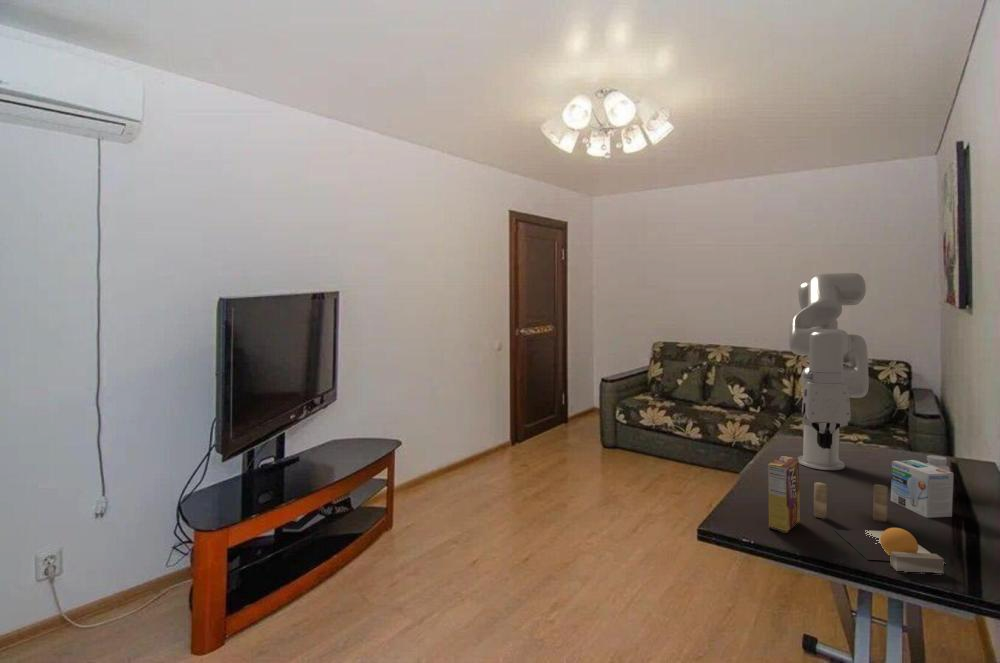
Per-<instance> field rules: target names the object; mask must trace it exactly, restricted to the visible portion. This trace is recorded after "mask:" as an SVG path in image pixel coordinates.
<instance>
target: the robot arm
mask: <svg viewBox="0 0 1000 663" xmlns="http://www.w3.org/2000/svg"><path fill="white" fill-rule="evenodd" d="M866 290H867V285H866V281H865V279H864V277H863V276H862V275H861V274H859V273H855V272H847V273H846V272H843V273H841V272H840V273H821V274H818V275H817V274H816V275H815V276H813V277H812V278H811V279H810V280H807V281H805V282H803V283H801V284H800V285H799V286H798V290H797V293H798V303H799V306H800V311H799V312H797V313H796V314H795V316H794V317H792V320H791V322H790V325H789V336H788V345H789V349H790V351H791V352H792V353H793V354H795V355H796V356H797V355H798V356H805V357H806V356H807V358H808V359H809V360H808V366H806V367H805V368H803V370H802V372H801V373H800V375H801V376H800V381H801V382H800V383H801V386H802V388H801V389H802V394H803V396H802V405H801V406H802V407H801V415H802V416H801V417H802V419H801V420H802V421H801V423H802V424H803V437H802V438H803V440H802V441H803V444H802V446H803V447H802V453H803V454H802V455H799V456H798V457H797V459H799V465H802V466H804V467H807V468H810V469H811V468H812V469H815V470H816V469H817V470H822V471H841V470H843V469H845V463H844V461H841V460H840V458H839V456H840V455H839V454H840V453H839V451H840V428H842V427H846V426H848V425H849V422H850V421H851V414H852V413H851V400H850V398H853V399H859V398H864V397H865V396H866V395H867V394H868V392H869V383H870V382H869V363H868V361H869V359H868V355H869V354H868V346H867V342H866V340H865V339H864V337H862V336H861V335H859V334H849V333H848V332H847V331H845V330H843V329H838V328H839V324H838V320H837V319H839V317H840V316H841V315H842V312H843V306H857V305H859V304H860V303H861V302H862V301H863V300H864V298H865V296H866V292H867V291H866ZM844 365H846V366H844Z"/></svg>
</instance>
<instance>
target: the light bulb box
mask: <svg viewBox="0 0 1000 663" xmlns="http://www.w3.org/2000/svg"><path fill="white" fill-rule="evenodd" d="M890 482H891V483H890V484H891V485H890V487H891V488H890V501H891V502H892V503H894V504H897V505H898V506H901V507H903V508H905V509H907V510H909V511H912V512H914V513H916V514H918V515H919V516H922V517H925V518H927V519H928V518H929V519H930V518H946V517H947V518H949V517H951V518H952V517H953V497H954V496H953V495H954V494H953V493H954V472H951V471H950V472H949V471H946V470H943V469H940V468H937V467H934V466H931V465H928V464H925V462H921V461H919V460H916V459H908V460H905V459H904V460H892V461H891V481H890Z"/></svg>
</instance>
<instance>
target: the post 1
mask: <svg viewBox="0 0 1000 663" xmlns="http://www.w3.org/2000/svg"><path fill="white" fill-rule="evenodd" d="M813 486H814V487H813V489H814V490H813V517H814V516H815V517H814V518H816V517H818V518H826V517H827V516H828V515H827V512H828V508H827V506H828V485H827V483H823V482H814V485H813ZM818 518H817V519H818ZM826 519H827V518H826Z"/></svg>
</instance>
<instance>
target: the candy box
mask: <svg viewBox="0 0 1000 663" xmlns="http://www.w3.org/2000/svg"><path fill="white" fill-rule="evenodd" d="M767 474H768V476H767V478H768V482H767V484H768V485H767V486H768V487H767V488H768V491H767V492H768V497H767V498H768V499H767V500H768V527H769V526H771V527H775V528H778V529H781V530H785V531H788V530H790V529H791V528H792V527H793V526H794V525H795V524H796V523H798V522H799V521H801V519H800V514H801V513H800V512H801V510H800V507H801V506H800V463H799V459H798V457H797V458H796V457H791V456H787V455H786V456H785V455H780V456H779V457H777V458H776V459H775V460H773V461H771V462H769V464H767ZM799 523H800V522H799ZM799 523H798V524H799Z"/></svg>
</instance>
